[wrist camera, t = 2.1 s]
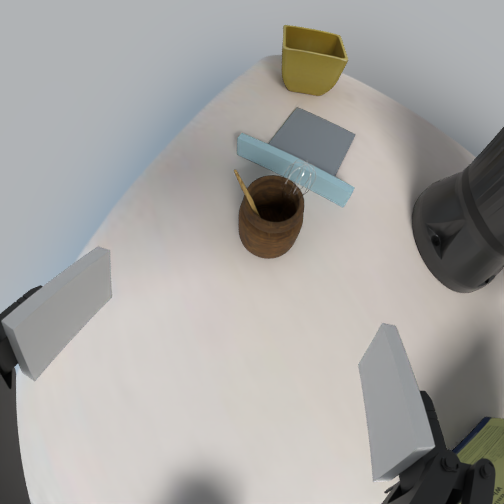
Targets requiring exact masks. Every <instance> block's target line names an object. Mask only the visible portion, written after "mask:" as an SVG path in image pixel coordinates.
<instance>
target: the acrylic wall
mask: <svg viewBox="0 0 504 504" xmlns="http://www.w3.org/2000/svg"><path fill="white" fill-rule="evenodd" d="M237 155H239V156H241V157H244V158H246V159H248V160H250V161H252V162H255V163H257V164H259V165H261V166H263V167H265V168H267V169H269V170H271V171H274V172H276V173H278V174H280V175H282V176H284V177H286V178H289V179H290V180H292V181H294V182H295V181H296V183H299V184H300V185H302V186H304V187H306V188H307V187H308V185H309V183H310V185H309V187H308V189H310V190H311V191H313V192H315V193H317V194H319V195H321V196H323V197H325V198H327V199H328V200H330V201H332V202H334V203H336V204H338V205H339V206H341V207H344V206H345V204H346V202H347V201H348V199H349V198H350V196H351V195H352V192H353V190H354V188H355V187H353V186H351V185H349V184H347V183H345V182H344V181H342V180H340V179H338V178H336V177H334V176H332V175H330V174H329V173H327V172H325V171H323V170H321V169H319V168H317V167H315V166H313V165H311V164H309V163H307V162H306V163H305V162H304V161H302V160H298V159H299V158H297V157H295V156H292V155H290V154H288V153H286V152H284V151H282V150H280V149H277V148H275V147H273V146H271V145H269V144H266V143H264V142H262V141H260V140H257V139H255V138H253V137H250V136H248V135H246V134H243V133H241V135H240V136H239V137H238V138H237ZM296 160H297V161H296ZM295 161H296V162H301V163H296V162H295ZM294 162H295V163H294ZM293 163H294V165H293ZM303 163H305V164H308V165H309V166H306V165H304V164H303ZM291 164H292V165H291ZM290 165H291V166H290ZM302 165H304V167H303V166H302ZM292 166H293V167H292ZM300 166H301V167H300ZM310 166H311V167H312V168H313V169H314V170H315V171H313V169H312V168H311V167H310ZM288 167H289V168H288ZM298 167H299V168H298ZM305 167H306V169H305ZM308 167H309V168H308ZM287 168H288V169H287ZM291 168H292V169H291ZM297 168H298V169H297ZM302 168H303V169H302ZM290 169H291V171H290ZM295 169H296V170H295ZM301 169H302V171H301ZM309 169H310V171H309ZM286 170H287V171H286ZM294 170H295V171H294ZM304 170H305V171H304ZM293 171H294V172H293ZM300 171H301V172H300ZM285 172H286V173H285ZM289 172H290V173H289ZM292 172H293V173H292ZM303 172H304V174H303ZM310 172H311V173H312V172H313V173H312V175H311V182H310V178H309V177H310ZM315 172H316V175H315ZM291 173H292V174H291ZM299 173H300V174H299ZM284 174H285V175H284ZM288 174H289V176H290V175H291V176H290V177H289V176H288ZM298 175H299V176H298ZM302 175H303V176H302ZM297 177H298V178H297ZM301 177H302V178H301ZM315 177H316V179H315ZM296 179H297V180H296ZM300 179H301V180H300ZM308 179H309V180H308ZM307 180H308V181H307ZM314 180H315V181H314ZM299 181H300V182H299ZM306 182H307V183H306ZM313 182H314V183H313ZM305 183H306V184H305ZM304 184H305V185H304ZM312 184H313V185H312ZM311 186H312V187H311ZM310 187H311V188H310Z"/></svg>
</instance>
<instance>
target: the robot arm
mask: <svg viewBox="0 0 504 504" xmlns="http://www.w3.org/2000/svg"><path fill="white" fill-rule="evenodd" d="M413 231H414V236H415V240H416V243H417V246H418V249H419V252H420V254H421V256H422V258H423V260H424V262H425V264H426V265H427V267H428V268H429V270H430V271H431V272H432V274H433V275H434V276H435V277H436V278H437V279H438V280H439V281H440V282H441V283H442V284H443V285H445V286H446V287H448V288H449V289H451V290H453V291H456V292H459V293H470V292H473V291H476V290H478V289H480V288H483V287H484V286H486V285H487V284H489V283H490V282H491V281H492V280H493V279H494V277H495V276H496V275H497V274H498V273H499V272H500V271H501V270H502V269H503V267H504V127H503V128H502V129H501V131H500V132H499V133H498V134H497V135H496V136H495V138H494V139H493V140H492V141H491V142H490V143H489V144H488V145H487V147H486V148H485V149H484V150H483V151H482V152H481V153H480V154H479V155H478V156H477V157H476V158H475V159H474V161H473V162H472V163H471V164H470V165H469V166H468V167H467V168H466V169H465V170H464V171H463V172H460V173H458V174H455V175H452V176H450V177H448V178H445V179H443V180H441V181H437V182H435V183H433V184H432V185H430V186H429V187H428V188H427V189H426V190H425V191H424V192H423V193H422V194H421V195H420V197H419V198H418V200H417V202H416V204H415V207H414V211H413ZM111 298H112V290H111V268H110V250H108V249H104V248H101V247H96V248H95V249H93V250H92V251H91V252H89V253H88V254H86V255H85V256H83V257H82V258H81V259H79V260H78V261H76V262H75V263H74V264H72V265H71V266H70V267H68V268H67V269H65V270H64V271H63V272H61V273H60V274H59V275H57V276H56V277H55V278H53V279H52V280H51V281H49V282H48V283H47V284H46V285H44V286H38V287H36V288H33V289H31V290H30V291H28V292H27V293H26V294H24V295H23V297H21V298H19V299H18V300H17V302H14V303H13V304H12V305H11V306H9V307H8V308H7V309H6V310H4V311H3V312H2V313H1V314H0V504H31V503H30V499H29V495H28V491H27V486H26V482H25V477H24V472H23V466H22V460H21V453H20V446H19V437H18V426H17V411H16V371H15V368H14V367H15V366H16V365H17V364H19V366H20V368H21V370H22V373H24V374H25V375H26V376H28V377H29V378H31V379H32V380H33V381H36V380H37V378H38V377H39V376H40V375H41V374H42V372H43V371H44V370H45V369H46V368H47V367H48V365H49V364H50V363H51V362H52V361H53V360H54V359H55V357H56V356H57V355H58V354H59V353H60V352H61V351H62V350H63V348H64V347H65V346H66V345H67V344H68V343H69V342H70V341H71V340H72V339H73V337H74V336H75V335H76V334H77V333H78V332H79V331H80V330H81V329H82V328H83V327H84V326H85V325H86V323H87V322H88V321H89V320H90V319H91V318H92V317H93V316H94V315H95V314H96V313H97V312H98V311H99V310H100V309H101V308H102V307H103V306H104V305H105V304H106V303H107V302H108V301H109V300H110V299H111ZM358 366H359V372H360V378H361V384H362V390H363V397H364V403H365V410H366V418H367V426H368V434H369V443H370V452H371V463H372V475H373V482H379V481H390V480H392V479H393V478H395V477H396V476H398V475H399V478H400V481H399V482H398V483H396V484H395V485H393V486H392V487H390V488H388V489H387V490H386V491H385V492H384V493H388V492H389V491H391V492H390V493H389V494H388V496H387V497H386V499H385V500H384V501H383V503H382V504H459V503H461V504H492V503H493V496H494V487H495V476H496V472H495V467H494V465H493V463H492V462H491V461H490V460H488V459H486V458H482V459H479V460H478V461H477V462H475V463H474V464H473V465H471V464H467V463H462V462H460V460H459V458H458V456H457V455H456V454H455V453H454V452H453V451H450V450H447V449H446V446H445V442H444V439H443V435H442V432H441V428H440V425H439V422H438V420H437V415H436V412H435V409H434V406H433V403H432V400H431V399H430V397H429V396H428V394H427V393H426V392H425V391H419V388H418V385H417V382H416V379H415V376H414V373H413V370H412V368H411V365H410V362H409V359H408V356H407V354H406V351H405V348H404V346H403V343H402V340H401V338H400V335H399V333H398V330H397V328H396V326H394V325H389V324H385V323H382V324H381V326H380V328H379V330H378V332H377V333H376V335H375V337H374V339H373V340H372V342H371V344H370V346H369V347H368V349H367V351H366V352H365V354H364V356H363V357H362V359H361V361H360V362H359V364H358Z"/></svg>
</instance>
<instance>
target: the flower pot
mask: <svg viewBox="0 0 504 504" xmlns="http://www.w3.org/2000/svg"><path fill="white" fill-rule="evenodd" d="M347 62H348V57H347V54H346V51H345V48H344V45H343V42H342V39H341V36H340V35H337V34H333V33H329V32H324V31H319V30H314V29H309V28H303V27H296V26H288V25H284V26H283V47H282V78H283V81H284V84H285V86H286V87H287V89H288V90H289V91H293V92H300V93H306V94H311V95H316V96H321V95H323V94H325V93H326V92H328V91H329V90H330V89H331V88H333V86H334V85H335V84H336V82H337V81H338V79H339V77H340V75H341V73H342V71H343V69H344V68H345V66H346V64H347Z"/></svg>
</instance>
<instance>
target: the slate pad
mask: <svg viewBox="0 0 504 504" xmlns="http://www.w3.org/2000/svg"><path fill="white" fill-rule="evenodd" d="M354 137H355V134H353V133H352V132H350V131H348V130H346V129H344V128H342V127H340V126H338V125H336V124H333V123H331V122H329V121H327V120H325V119H323V118H321V117H319V116H316V115H314V114H312V113H310V112H307V111H305V110H303V109H300V108H298V107H297V108H296V109H295V111H294V112H293V113H292V114H291V116H290V117H289V118H288V119H287V121H286V122H285V123H284V125H283V126H282V127H281V128H280V130H279V131H278V132H277V133H276V135H275V136H274V137H273V139H272V140H271V141H270V143H269V145H271V146H273V147H275V148H277V149H280V150H282V151H284V152H286V153H288V154H290V155H292V156H295V157H297V158H299V159H302V160H303V161H305V162H306V161H307V160H308V163H309V164H313V165H314V166H315V167H317V168H319V169H321V170H323V171H325V172H327V173H329V174H330V175H332V176H334V177H335V175H336V173H337V171H338V169H339V167H340V165H341V163H342V161H343V159H344V157H345V155H346V153H347V151H348V149H349V147H350V145H351V143H352V141H353V139H354Z"/></svg>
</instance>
